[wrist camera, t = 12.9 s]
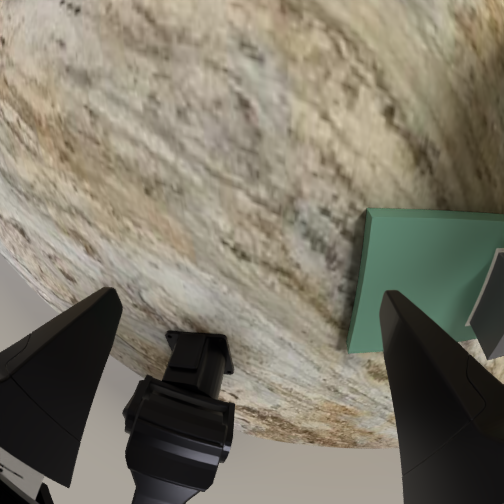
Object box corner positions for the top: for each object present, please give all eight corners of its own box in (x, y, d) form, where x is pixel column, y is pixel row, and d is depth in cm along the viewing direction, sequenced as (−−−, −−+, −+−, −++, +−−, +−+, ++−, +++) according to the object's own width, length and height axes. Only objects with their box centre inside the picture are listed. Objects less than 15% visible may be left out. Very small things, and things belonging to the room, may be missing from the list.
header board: (506, 322, 23) (521, 348, 19) (346, 341, 26) (351, 379, 22) (549, 218, 16) (574, 241, 12) (366, 208, 19) (384, 239, 15)
